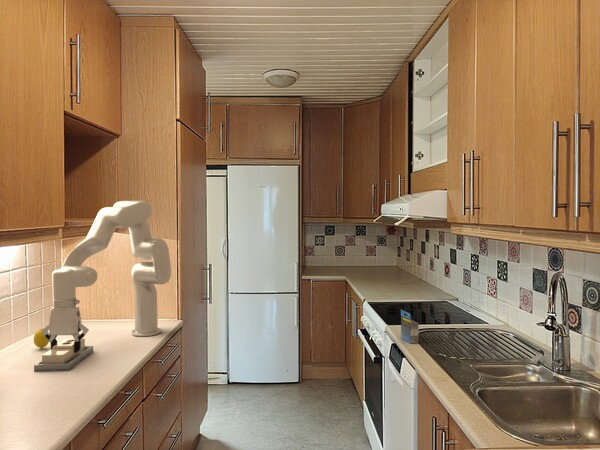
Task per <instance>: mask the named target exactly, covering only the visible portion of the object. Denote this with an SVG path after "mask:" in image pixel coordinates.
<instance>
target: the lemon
mask: <svg viewBox="0 0 600 450" xmlns="http://www.w3.org/2000/svg"><path fill="white" fill-rule="evenodd" d="M43 329H44V328H39V329H38V330H37V331H36V332H35V333H34V336H33V343H34V345H35V347H37V348H39V349H40V350H43V349H44V348H45V347H47V346H48V344H50V342H49V340H48V339H47V338H46V337H45V335H44V334H43V333H42V330H43Z"/></svg>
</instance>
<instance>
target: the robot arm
mask: <svg viewBox="0 0 600 450" xmlns="http://www.w3.org/2000/svg"><path fill="white" fill-rule="evenodd" d="M152 214H153V207H152V205H151V204H150V203H149V202H148V201H146V200H131V199H130V200H119V201H117V202H115V203H114V204H113V206H105V207H103V208H101V209H100V210H99V211H98V212H97V215H96V217H95V219H94V221H93V223H92V225H91V227H90V230H89V231H88V233H87V236H86V237H85V239H84V240H83V241H81V242H79V243H78V244H77V245H76V246H75V247H74V248H73V249H72V250H71V251H70V252H69V253H68V255H67V256H66V257H65V259H64V261H63V264H62V265H61V268H59V269H55V270H53V272H51V274H52V275H51V279H52V281H51V282H52V307H50V314H49V320H48V321H49V323H48V325H47V326H45V328H42V329H43V330H42V333H43V334H44V335H45V337H46V338H47V339H48V340H49V344H50V350H51V349H53V346H55V345H56V344H58V340H57V337H58V336H72V338H74V339H75V342H74V352H75V353H77V352H78V351H79V350H80V349H81V339H82V338H85V336H86V334H87V333H88V332H89V328H88V327H86V326H85V325H84V324H83V323H82V316H81V309H80V306H79V305H78V304H80V303H81V301H80V299H77V293H76V289H77V288H87V287H90V286H93V285H94V284H95V283H96V282H97V280H98V277H99V276H98V272H97V270H95V269H94V268H93V267H91V266H84V265H83V263H84V262H85V261H86V260H87V259H88V258H90V257H91V256H94V255H96V254H98V253H101V252H102V251H104V250H106V249H107V248H108V246H109V244H110V242H111V240H112V237H113V236H114V233H115V231H116V229H128V232H129V238H130V245H131V251H132V255H133V256H134V258H136V259H138V260H147V261H139V262H136V263H135V264H134V265H133V266H132V268H131V278H132V283H133V290H134V292H133V293H134V329H132V331H131V335H132V336H135V337H151V336H156V335H160V334H161V333H162V328H160V327H158V322H159V321H158V291H157V288H156V286H155V285H166V284H167V283H168V282H169V281H170V279H171V276H172V267H171V265H172V264H171V258H170V250H169V246H168V244H167V242H166V241H165V240H164V239H163V238H160V237H153V236H152V234H151V233H152V232H151V228H150V224H149V222H148V220H149V219H150V218H151V217H152ZM149 260H151V261H149ZM82 265H83V266H82ZM80 332H81V333H80Z"/></svg>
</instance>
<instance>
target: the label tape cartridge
mask: <svg viewBox="0 0 600 450" xmlns="http://www.w3.org/2000/svg"><path fill="white" fill-rule="evenodd" d="M419 324H420V323H419V322H417V321H415V320H414V319H412V318H411V313H409V312H407V311H406V310H404V309H400V335H401V336H400V339H401V340H403V341H405V342H407V343H408V344H410V345H411V344H419Z"/></svg>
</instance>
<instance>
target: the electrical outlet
mask: <svg viewBox="0 0 600 450" xmlns="http://www.w3.org/2000/svg"><path fill="white" fill-rule="evenodd" d="M74 342H75V339H74V337H70V338H69V337H68V338H65V339H63V340H60V342H57V344H56V345H55V346H53V349H51V348H50V349H49V350H48V351H47V352H45V353H43V354H42V355H41V360H42V364H64V363H65V362H67V361H68V360H70V359H71V358H73V357H74V356H75V355H77V354H78V353H80V352H81V351H83V350H84V349H85V346H86V339H85V337H83V338H82V339H81V349H80V350H79V351H78V352H77V353H75V352H74Z"/></svg>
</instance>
